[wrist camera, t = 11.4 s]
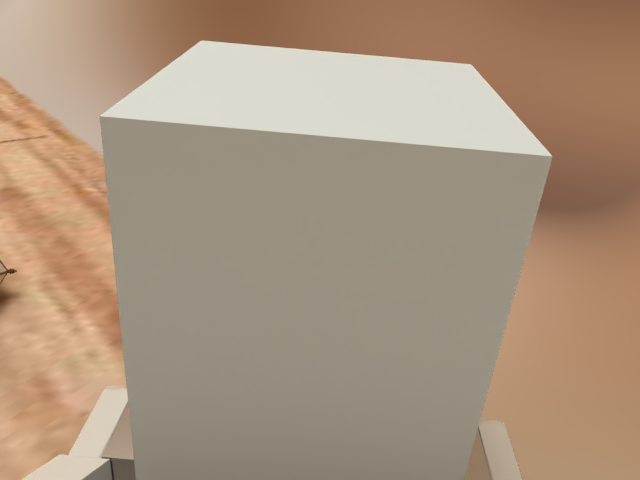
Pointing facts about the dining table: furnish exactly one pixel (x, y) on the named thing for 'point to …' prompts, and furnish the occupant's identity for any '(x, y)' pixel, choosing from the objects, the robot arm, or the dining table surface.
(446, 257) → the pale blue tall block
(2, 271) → the game die
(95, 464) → the robot arm
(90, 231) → the dining table surface
